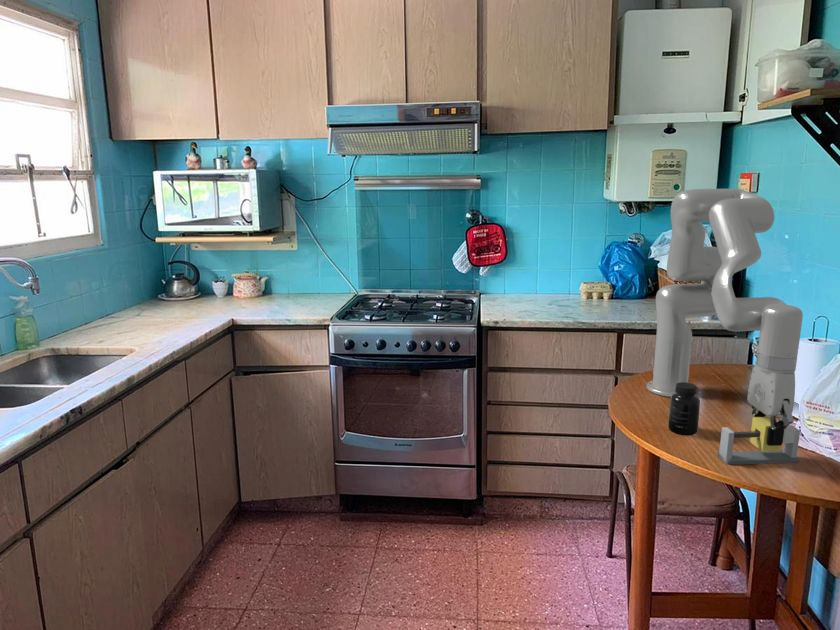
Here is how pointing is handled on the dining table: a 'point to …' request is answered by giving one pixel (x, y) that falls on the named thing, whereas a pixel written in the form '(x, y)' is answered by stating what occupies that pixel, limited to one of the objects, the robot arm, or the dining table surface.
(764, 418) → the olive yellow cube
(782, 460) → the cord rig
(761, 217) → the robot arm
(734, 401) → the dining table surface
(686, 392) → the supplement bottle
